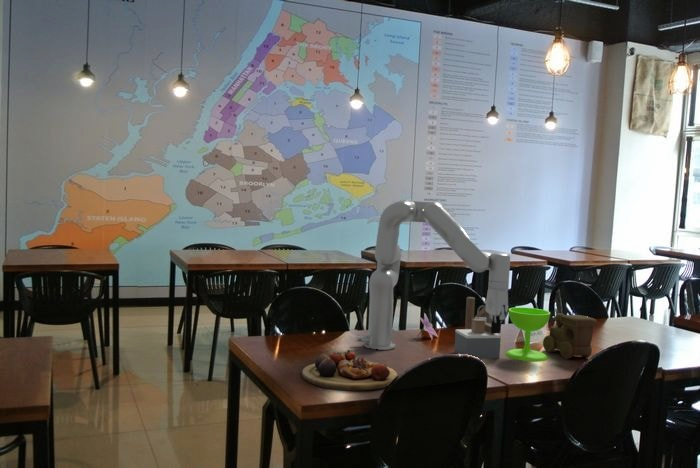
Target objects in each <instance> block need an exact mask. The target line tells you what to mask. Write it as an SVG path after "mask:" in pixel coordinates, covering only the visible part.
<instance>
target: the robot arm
mask: <svg viewBox="0 0 700 468" xmlns="http://www.w3.org/2000/svg"><path fill="white" fill-rule="evenodd" d="M408 222H411V223H412V222H413V223H427V224H428V225H429V226H430V227H431V228H432V229H433V230H434V231H435V232H436V233H437V235H439V236H440V238H441V239H442V240H444V242H445V243H446V244H447V245H448V246H449V248H450V249H452V250H453V252H454V253H455V254H456V255H457V256H458V257H459V259H461V260H462V262H464V264H466V266H467V267H468V268H469V269H471V270H472V271H473V272H475V273H483V272H485V271H486V270H487V271H489V272H488V273H489V274H488V287H487V288H488V289H487V291H486V292H487V293H486V294H487V295H486V299H485V301H486V304H485V305H486V308H485V310H486V312H487V313H489V315H490V316H491V319H490V320H491V322H490V323H492V324H491V332H492V333H500V332H502V331H501V330H502V323H503V321H504V320H505V317H506V316H507V315H508V313H509V294H508V293H509V292H508V291H509V287H510V286H509V285H510V284H509V283H510V269H511V255H509V254H508V253H505V252H504V253H503V252H502V253H501V252H489V251H481V250H480V248H478V246H477V245H476V244H475V243H474V242H473V241H472V240H471V238H470V237H469V236H468V234H467V233H466V231H465V229H464V228H463V227H462V226H461V224H460V223H459V222H457V221H456V219H455V218H454V217H453V216H452V215H451V214H450V213H449V212H448V211H447V210H446V208H445V207H444V205H443V204H442V203H441V202H438V201H416V200H398V201H395V202H393V203H391V204H389V205H388V206H386V208H385V209H384V210H383V211H382V212H381V215H380V217H379V221H378V227H377V235H376V240H375V248H374V258H375V261H376V262H377V264H376V270H375V271H373V272H372V273H371V275H370V277H369V281H368V288H369V307H368V309H369V310H368V311H369V313H368V328H367V329H368V331H367V333H366V334H365V335H363V336H356V339H355V341H356V342H361V343H363V346H364V347H365V348H367V349H370V348H371V349H370V350H376V349H378V350H379V351H382V350H383V351H386V350H387V351H388V350H393V349H395V348H396V344H395V343H394V342H393V341H392V337H393V319H394V318H393V317H394V315H393V314H394V287H395V286H396V285H397V284H398V281H399V275H400V269H401V268H400V267H401V258H402V248H401V247H400V245H399V244H398V243H399V237H400V227H401V224H402V223H408ZM378 350H377V351H378Z"/></svg>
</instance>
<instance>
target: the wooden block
mask: <svg viewBox="0 0 700 468" xmlns="http://www.w3.org/2000/svg"><path fill="white" fill-rule="evenodd" d="M475 302H476V297H473V296H467V297H466V302H465V303H466V305H465V321H464V323H465V325H464V329H472V319H475V317H486V323H489V322H490V321H489V320H490V318H489V313H487V312H486V310H485V308H486V304H484V306H483V307H481V308H480V309H481V310H479V313H478V314H477V313H476V315H475V306H476V305H475V304H476V303H475Z"/></svg>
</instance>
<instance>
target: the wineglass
mask: <svg viewBox="0 0 700 468" xmlns="http://www.w3.org/2000/svg"><path fill="white" fill-rule="evenodd" d="M508 316H509V319H510V321H511V323H512V325H514V326H515V327H517V328H518V329H519V330H522V331H523V332H525V335H524V336H525V337H524V347H523V348H514V349H513V348H512V349H509V350H507V351H506V352H505V356H507V357H509V358H511V359H513V360H517V361H518V360H519V361H522V362H523V361H525V362H536V363H537V362H545V361H547V360H548V359H549V358H548V355H546V354H545V353H543V352H541V351H538V350H535V349H531V347H530V346H531V332H536V331H539V330H541V329H543V328H544V327H545V326H546V325H547V324H548V322H549V320H550V317H551V312H550V311H548V310H545V309H541V308H540V309H539V308H536V307H535V308H534V307H522V306H521V307H519V306H518V307H516V306H515V307H510V308H509V307H508Z"/></svg>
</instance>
